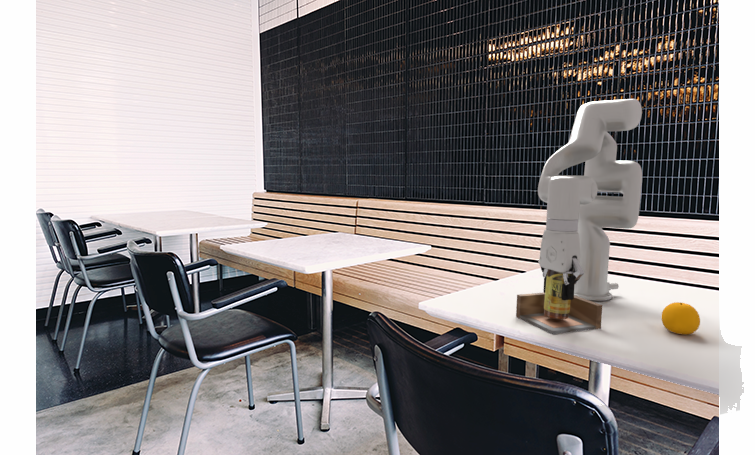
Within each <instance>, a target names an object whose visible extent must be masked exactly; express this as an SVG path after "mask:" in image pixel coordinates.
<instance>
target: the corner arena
mask: <svg viewBox="0 0 755 455" xmlns="http://www.w3.org/2000/svg"><path fill="white" fill-rule="evenodd" d="M544 300H545V293H544V292H534V293H533V292H532V293H524V294H523V293H521V294H516V309H515V310H516V311H515V317H517V318H518V319H520V320H522V321H524V322H526V323H529V325H532V326H535V327H537V328H539V329H540V330H543V331H545V332H547V333H548V334H550V335H557V334H558V335H559V334H567V333H574V332H575V333H576V332H582V331H593V330H601V329H602V320H603V319H602V318H603V304H600V303H598V302H596V301H593V300H586V299H584V298H581V297H578V296H575V295H574V299H573V300H571V303H570V312H569V316H568V318H567V319H562V320H560V319H552V318H548V317H546V316H545V315H544Z"/></svg>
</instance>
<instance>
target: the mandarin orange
mask: <svg viewBox="0 0 755 455" xmlns="http://www.w3.org/2000/svg"><path fill="white" fill-rule="evenodd" d="M661 322H662V325H663V326H664V328H665V329H667V331H669V332H671V333H673V334H677V335H691V334H693V333H695V332H696V331H697V330H698V329H699V328H700V325H701V317H700V314H699V311H697V309H696V308H695V307H693V306H692V305H691V304H689V303H685V302H678V301H677V302H676V301H675V302H672V303H670V304H668V305H666V306H665V307H664V308H663V310H662V312H661Z"/></svg>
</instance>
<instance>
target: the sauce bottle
mask: <svg viewBox="0 0 755 455" xmlns="http://www.w3.org/2000/svg"><path fill="white" fill-rule="evenodd" d="M569 271H570V269H569ZM570 275H571V274H568V278H570ZM563 284H565V283H564V279H563V274H562V273H558V272H555V271H552V270H549V269H548V273H547V278H546V290H545V300H544V315H545V316H546V317H548V318H552V319H560V320H562V319H567V318H568V316H569V312H570V303H571V300H562V285H563Z"/></svg>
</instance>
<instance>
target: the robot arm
mask: <svg viewBox="0 0 755 455" xmlns="http://www.w3.org/2000/svg"><path fill="white" fill-rule="evenodd" d="M642 114H643V110H642V105H641V103H640V101H639V100H638V99H636V98H627V99H626V98H625V99H613V100H612V99H611V100H598V101H589V102H587V103H584V104H581V106H580V107H579V108H578V110H577V112H576V115H575V119H574V122H573V124H572V125H573V126H572V129H571V131H570V132H571V133H570V136H569V139H568V142H567V143H566V144H565V145H564V146H562V147H560V148H559V149H558V150H556V151H555V153H553V154H552V155H551V156H550V157H549V158H548V159H547V160H546V162H545V164H544V166H543V169H542V172H541V175H540V178H539V182H538V185H537V186H538V187H537V195H538V198H539V199H540V201H542V202H544V203H546V204H547V206H546V222H545V229H544V230H543V234H542V238H541V242H540V250H539V259H538V261H537V263H538V264H539V266H540V270H541V272H542V277H543V289H542V290H543V292H542V293H545V290H546V278H547V273H548V269H549V270H552V271H555V272H558V273H562V274H563V279H564V283H565V284H563V285H562V300H573V299H574V295H575V296H578V297H581V298H584V299H586V300H589V301H592V302H596V301H597V302H600V301H601V302H603V301H609V300H611V299H612V298H613V294H612V292H610V291H611V290H618V289H619V288H620V286H619V284H618V282H617V283H616V282H614V283H613V282H612V283H610V281H608V277H609V276H608V275H609V274H608V273H609V262H610V259H609V258H610V249H611V242H610V239H609V236H608V235H607V233H606V232H605V231H604V228H610V229H611V228H612V229H623V230H624V229H627V230H628V229H633V228H635V226H636V225H637V224H638V221H639V215H640V206H641V196H642V195H641V194H642V183H643V170H642V167H641V165H640V163H638V162H637V161H634V160H617V152H618V145H617V142H616V140H615V139H614V138H613V137H612V135H611V134H610V133H609V132H623V131H624V132H625V131H626V132H627V131H630V130H634V129H635V128H637V127H638V125H639V124H640V122H641V120H642ZM584 162H585V163H584ZM582 163H584V164H585V165H584V172H583V175H574V174H573V175H571V174H570V175H569V174H568V175H567V174H566V175H565V174H560V173H562V172H563V171H564V170H567V169H568V168H571V167H573V166H577V165H579V164H582ZM598 192H600V193H621V194H622V195H623V196H613V195H612V196H609V195H598ZM569 269H570V271H569ZM568 274H571V275H570V278H568Z"/></svg>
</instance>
